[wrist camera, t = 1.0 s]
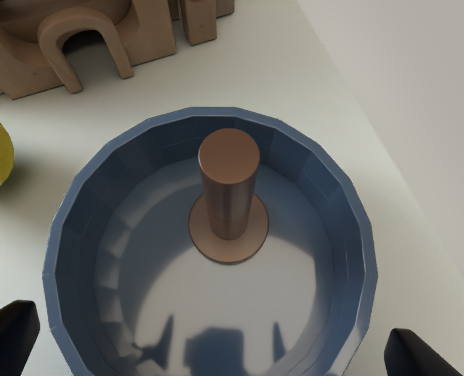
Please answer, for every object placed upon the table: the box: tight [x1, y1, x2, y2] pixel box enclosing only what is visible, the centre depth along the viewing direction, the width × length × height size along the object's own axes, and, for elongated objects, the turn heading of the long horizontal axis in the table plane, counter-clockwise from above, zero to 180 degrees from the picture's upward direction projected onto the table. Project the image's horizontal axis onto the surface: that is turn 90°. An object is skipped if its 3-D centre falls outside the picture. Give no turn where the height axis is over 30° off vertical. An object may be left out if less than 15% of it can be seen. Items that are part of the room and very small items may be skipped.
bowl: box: [42, 107, 378, 376], centre depth 19 cm, size 15×15×6 cm
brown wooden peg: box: [188, 128, 269, 264], centre depth 18 cm, size 5×5×10 cm
